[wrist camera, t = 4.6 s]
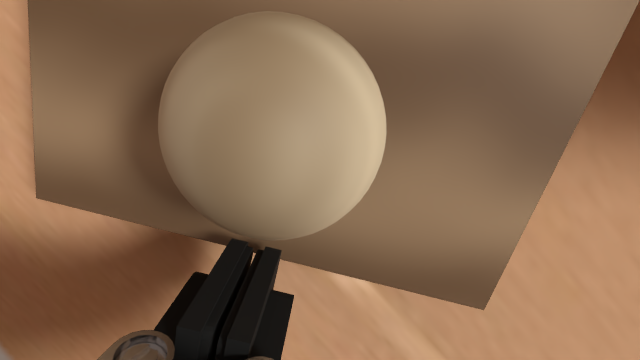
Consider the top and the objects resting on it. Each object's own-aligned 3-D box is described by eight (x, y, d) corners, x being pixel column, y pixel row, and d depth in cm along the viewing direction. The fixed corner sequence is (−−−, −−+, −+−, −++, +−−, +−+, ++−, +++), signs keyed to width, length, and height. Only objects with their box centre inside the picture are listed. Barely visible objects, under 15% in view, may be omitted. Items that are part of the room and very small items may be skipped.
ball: (399, 48, 10) (450, 40, 5) (350, 208, 11) (354, 316, 7) (223, 2, 10) (104, -50, 5) (200, 170, 11) (95, 252, 7)
